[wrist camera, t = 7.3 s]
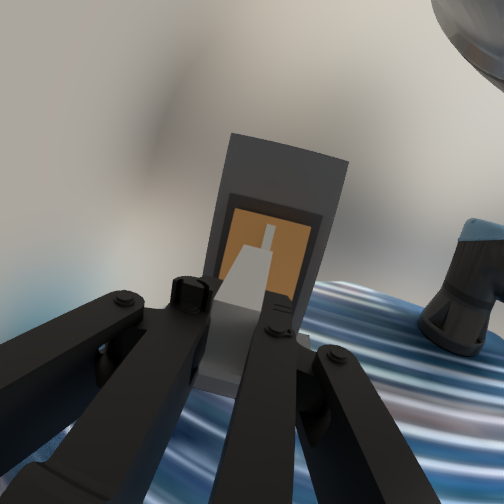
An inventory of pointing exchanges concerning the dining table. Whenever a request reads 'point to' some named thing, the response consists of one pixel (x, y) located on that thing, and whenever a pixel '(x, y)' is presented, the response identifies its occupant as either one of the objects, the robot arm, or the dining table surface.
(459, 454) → the dining table surface
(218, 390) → the switch stand
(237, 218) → the rocker
